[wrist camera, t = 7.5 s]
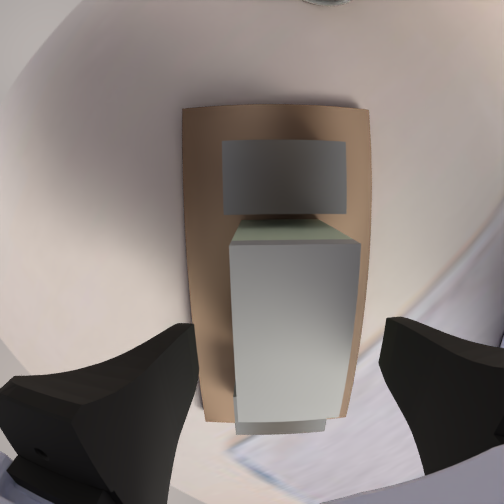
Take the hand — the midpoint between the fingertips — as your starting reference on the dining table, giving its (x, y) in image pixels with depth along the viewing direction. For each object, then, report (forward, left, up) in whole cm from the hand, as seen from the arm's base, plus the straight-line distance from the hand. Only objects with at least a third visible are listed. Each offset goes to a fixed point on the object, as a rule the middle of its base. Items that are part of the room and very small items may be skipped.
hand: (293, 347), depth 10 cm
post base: (0, 0, -7) cm, 7 cm away
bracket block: (0, 0, -6) cm, 6 cm away
